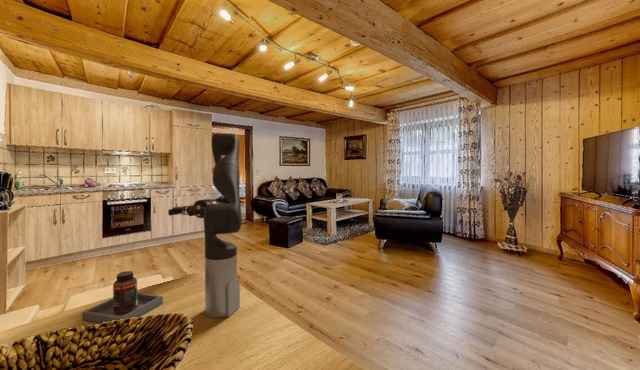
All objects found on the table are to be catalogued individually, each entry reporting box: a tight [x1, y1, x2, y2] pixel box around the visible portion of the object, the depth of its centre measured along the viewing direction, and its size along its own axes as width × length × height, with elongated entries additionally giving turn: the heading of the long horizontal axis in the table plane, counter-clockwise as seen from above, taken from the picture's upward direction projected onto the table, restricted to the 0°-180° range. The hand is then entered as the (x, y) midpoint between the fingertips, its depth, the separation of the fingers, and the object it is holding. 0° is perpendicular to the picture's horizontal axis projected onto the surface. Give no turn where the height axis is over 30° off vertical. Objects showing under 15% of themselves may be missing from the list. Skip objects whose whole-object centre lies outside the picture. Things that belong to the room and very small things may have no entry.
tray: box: [81, 292, 164, 324], centre depth 80 cm, size 14×14×2 cm
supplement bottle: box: [112, 270, 138, 314], centre depth 80 cm, size 6×6×11 cm
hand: (179, 213), depth 95 cm, fingers open, 8 cm apart
